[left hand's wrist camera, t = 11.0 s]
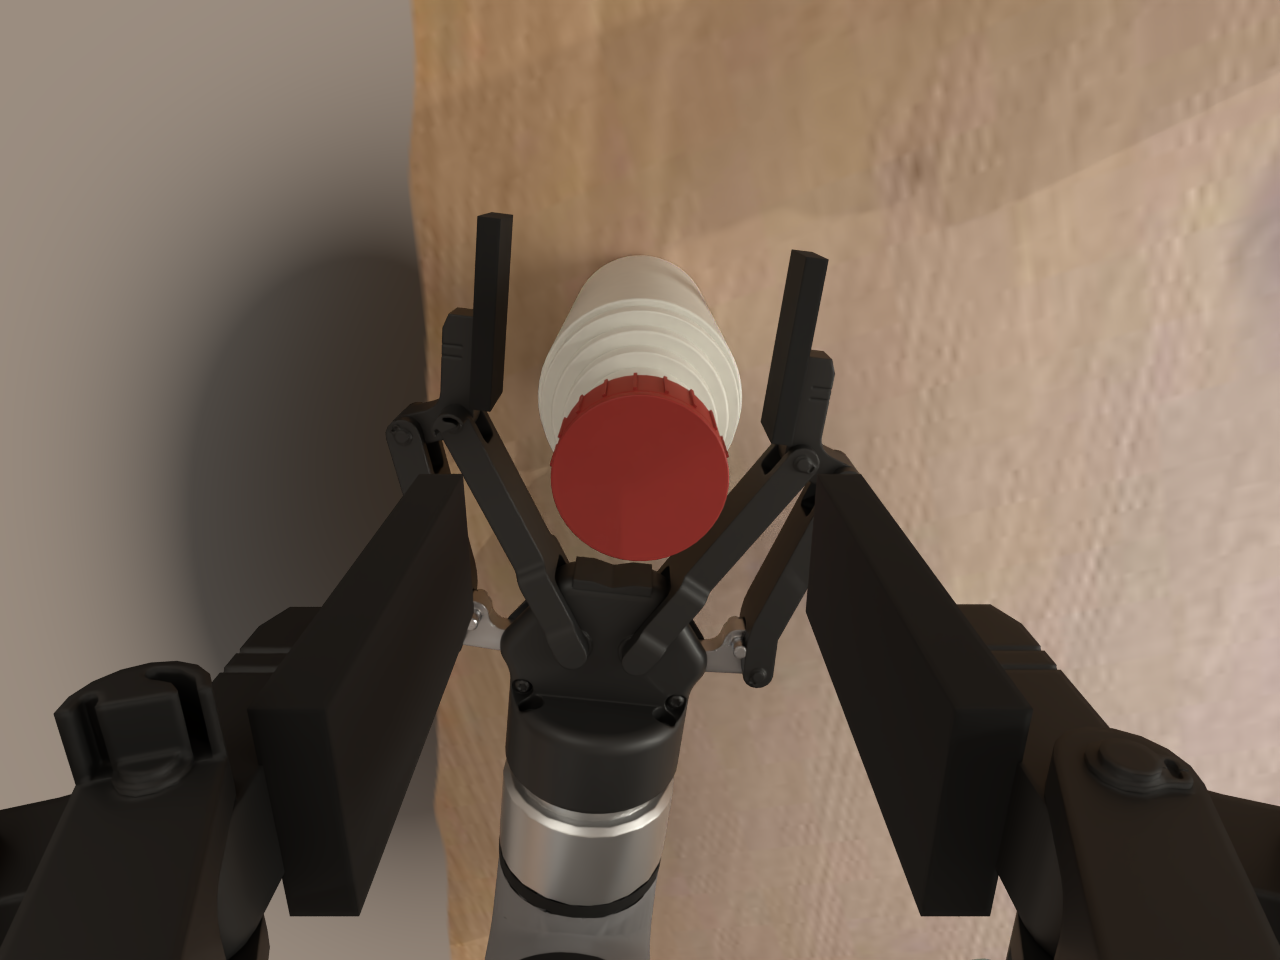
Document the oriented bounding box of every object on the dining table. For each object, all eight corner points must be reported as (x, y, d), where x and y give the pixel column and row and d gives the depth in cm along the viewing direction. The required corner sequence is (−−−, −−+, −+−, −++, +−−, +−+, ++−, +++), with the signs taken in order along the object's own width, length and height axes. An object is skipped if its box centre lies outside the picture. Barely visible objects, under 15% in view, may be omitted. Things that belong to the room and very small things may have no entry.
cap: (753, 475, 19) (765, 505, 17) (616, 556, 20) (613, 593, 18) (666, 339, 18) (669, 356, 16) (523, 430, 19) (511, 456, 17)
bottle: (733, 345, 35) (823, 511, 18) (620, 415, 37) (603, 636, 19) (660, 226, 34) (683, 284, 16) (545, 305, 35) (449, 437, 17)
